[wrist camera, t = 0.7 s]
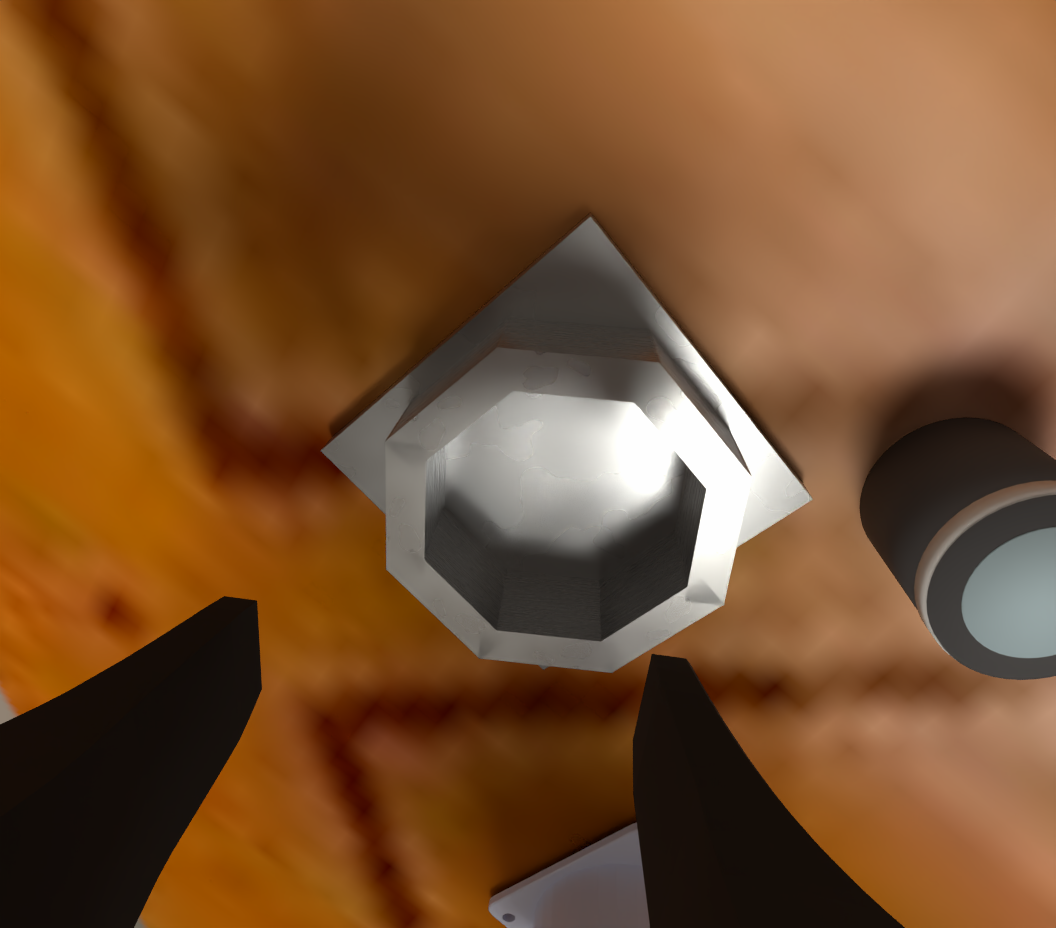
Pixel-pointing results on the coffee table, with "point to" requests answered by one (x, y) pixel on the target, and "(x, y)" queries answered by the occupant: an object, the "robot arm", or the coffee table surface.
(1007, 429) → the lens
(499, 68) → the coffee table surface
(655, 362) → the mount
